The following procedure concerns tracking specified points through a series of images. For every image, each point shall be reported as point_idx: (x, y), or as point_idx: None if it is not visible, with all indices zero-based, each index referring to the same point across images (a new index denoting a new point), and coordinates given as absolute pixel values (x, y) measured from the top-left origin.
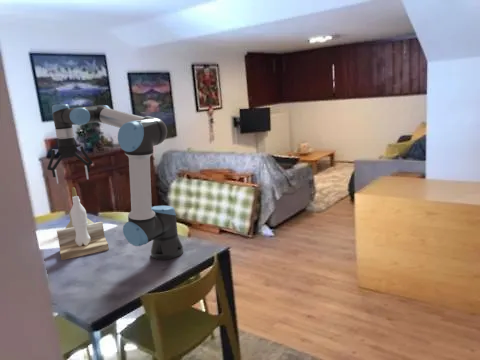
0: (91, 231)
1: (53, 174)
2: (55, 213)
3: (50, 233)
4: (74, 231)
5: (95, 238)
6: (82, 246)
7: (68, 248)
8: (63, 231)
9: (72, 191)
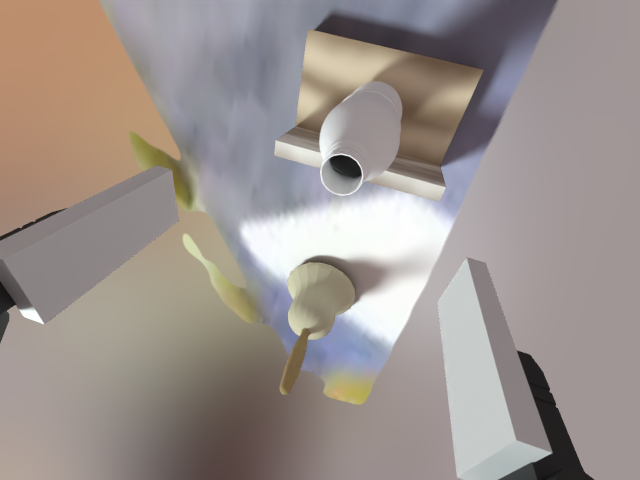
0: None
1: (541, 396)
2: (333, 396)
3: (390, 312)
4: None
5: None
6: None
7: (430, 113)
8: (421, 178)
9: (293, 380)
